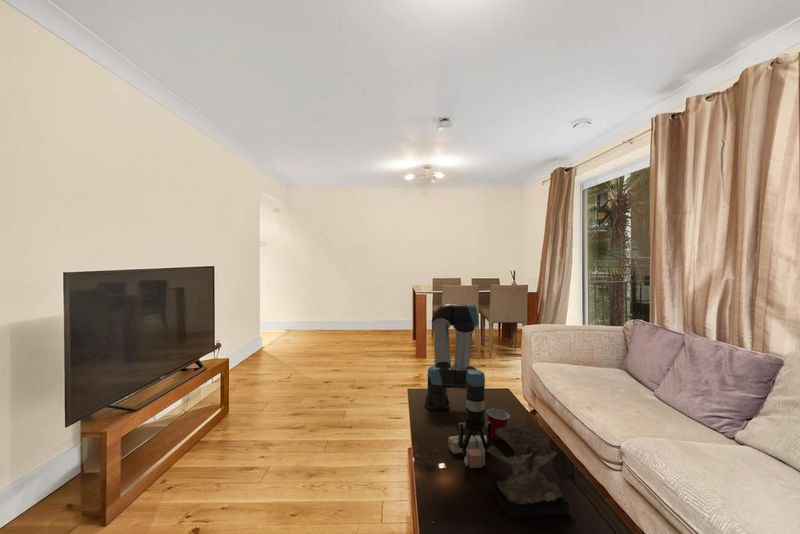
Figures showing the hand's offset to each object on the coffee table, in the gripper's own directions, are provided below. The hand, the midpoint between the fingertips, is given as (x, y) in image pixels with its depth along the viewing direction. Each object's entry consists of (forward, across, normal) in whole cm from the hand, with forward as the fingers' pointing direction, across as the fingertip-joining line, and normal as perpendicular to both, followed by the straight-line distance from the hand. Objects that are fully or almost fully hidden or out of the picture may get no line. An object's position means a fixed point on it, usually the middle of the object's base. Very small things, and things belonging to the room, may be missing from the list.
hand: (474, 463), depth 139 cm
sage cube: (0, +1, +11) cm, 11 cm away
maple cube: (0, -5, +11) cm, 12 cm away
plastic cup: (0, +18, +20) cm, 27 cm away
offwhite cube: (0, +7, +11) cm, 13 cm away
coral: (+1, +11, -20) cm, 23 cm away
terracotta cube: (0, 0, 0) cm, 0 cm away
